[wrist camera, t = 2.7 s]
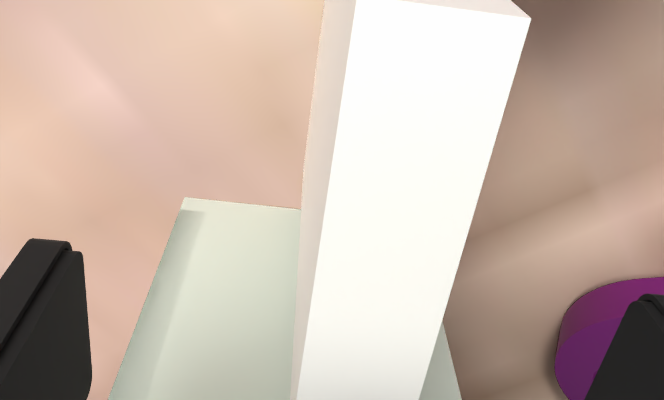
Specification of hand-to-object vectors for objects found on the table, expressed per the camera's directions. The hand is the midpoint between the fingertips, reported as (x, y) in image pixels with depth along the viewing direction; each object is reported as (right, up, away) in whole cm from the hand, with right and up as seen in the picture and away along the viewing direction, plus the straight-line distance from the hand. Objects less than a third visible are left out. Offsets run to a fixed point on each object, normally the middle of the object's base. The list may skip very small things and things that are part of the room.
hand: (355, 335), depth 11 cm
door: (0, +8, +12) cm, 15 cm away
